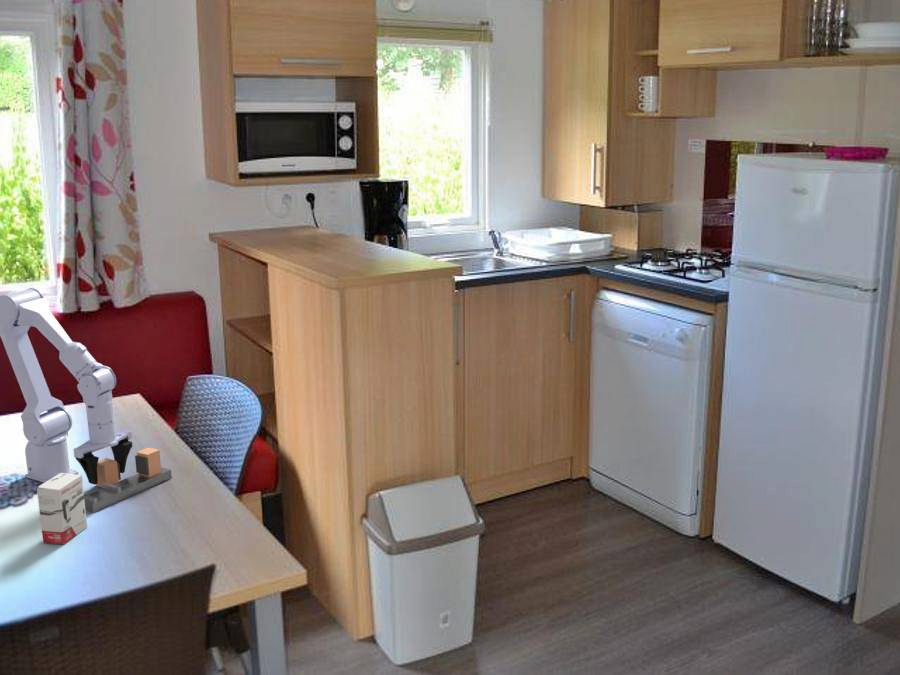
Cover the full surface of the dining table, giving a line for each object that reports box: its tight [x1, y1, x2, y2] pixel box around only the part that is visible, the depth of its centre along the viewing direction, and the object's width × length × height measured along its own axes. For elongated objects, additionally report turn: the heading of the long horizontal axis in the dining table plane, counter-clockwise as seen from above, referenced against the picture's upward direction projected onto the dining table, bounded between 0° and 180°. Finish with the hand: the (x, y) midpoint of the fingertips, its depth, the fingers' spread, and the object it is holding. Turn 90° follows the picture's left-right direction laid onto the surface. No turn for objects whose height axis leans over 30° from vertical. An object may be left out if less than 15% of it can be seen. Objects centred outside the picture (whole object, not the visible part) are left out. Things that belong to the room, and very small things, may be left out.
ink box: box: [36, 473, 88, 545], centre depth 190 cm, size 9×5×12 cm, turn 168°
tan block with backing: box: [95, 457, 122, 488], centre depth 216 cm, size 4×4×6 cm
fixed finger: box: [134, 447, 162, 478], centre depth 216 cm, size 4×4×6 cm
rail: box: [84, 467, 173, 513], centre depth 211 cm, size 5×22×3 cm, turn 149°
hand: (107, 477), depth 216 cm, fingers open, 7 cm apart
